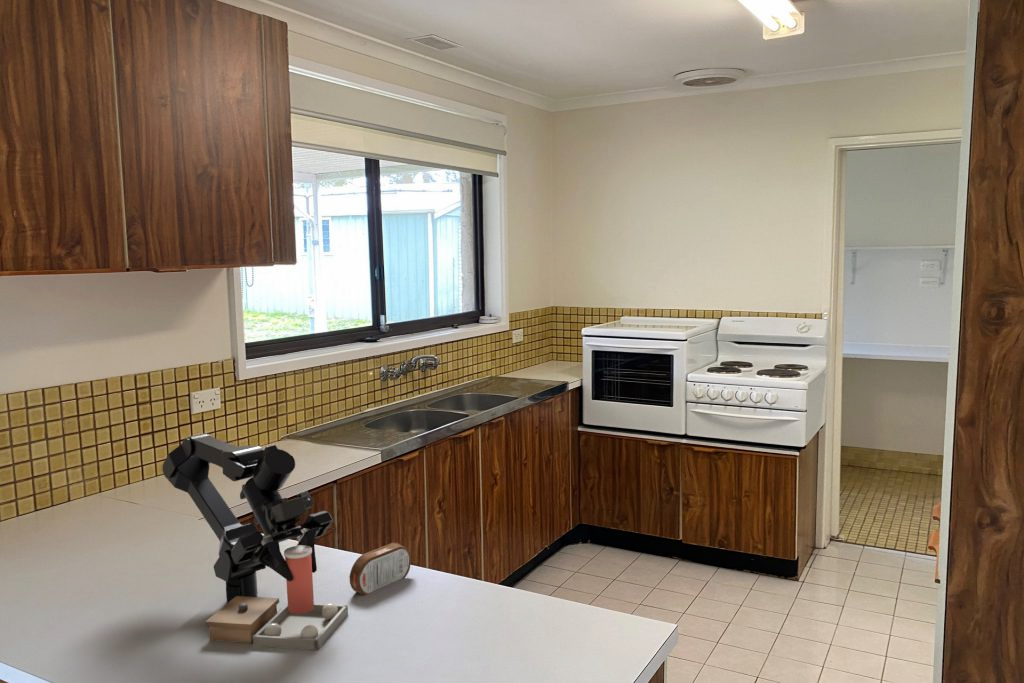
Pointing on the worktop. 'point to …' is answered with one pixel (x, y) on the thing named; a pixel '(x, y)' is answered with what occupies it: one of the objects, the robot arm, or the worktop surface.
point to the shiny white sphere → (272, 630)
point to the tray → (300, 628)
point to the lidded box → (241, 618)
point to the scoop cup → (300, 579)
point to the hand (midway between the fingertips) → (303, 575)
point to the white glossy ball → (309, 632)
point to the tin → (380, 568)
